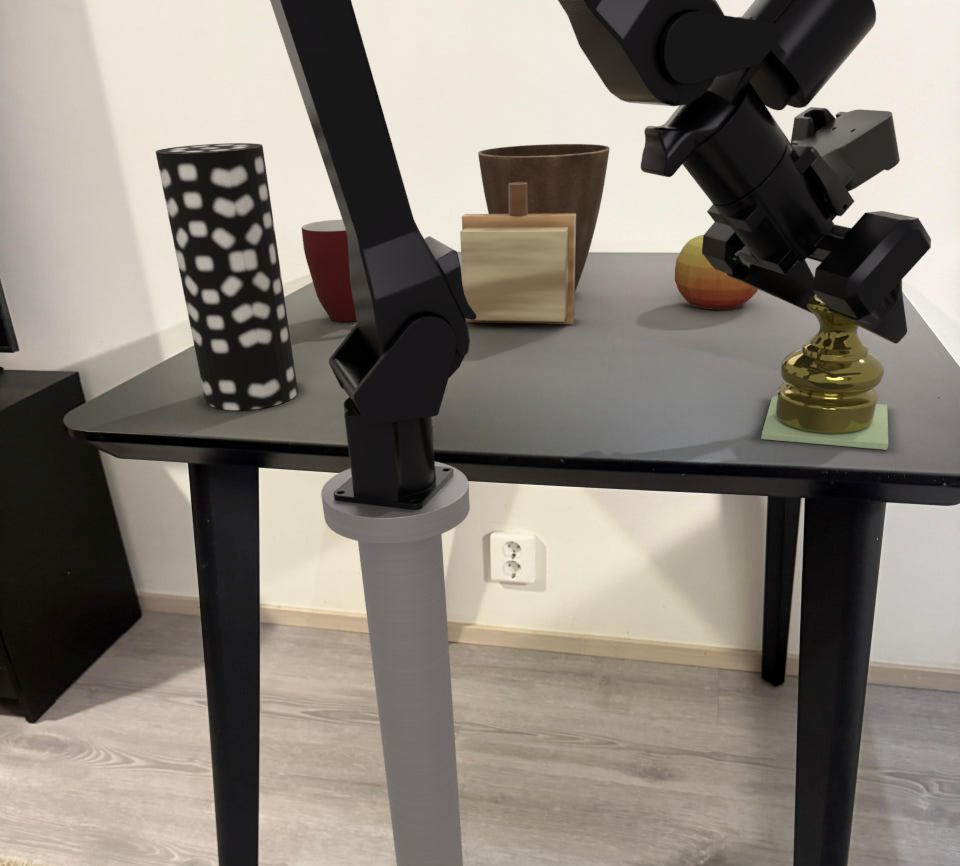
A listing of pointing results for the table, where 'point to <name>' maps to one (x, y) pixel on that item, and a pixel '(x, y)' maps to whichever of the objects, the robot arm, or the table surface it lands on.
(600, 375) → the table surface
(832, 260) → the robot arm
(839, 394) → the brass chess piece
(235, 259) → the spotted tube
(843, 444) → the mat
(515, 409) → the table surface
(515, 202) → the wooden napkin holder
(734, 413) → the table surface
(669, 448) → the table surface
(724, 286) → the apple
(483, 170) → the flower pot
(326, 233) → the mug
